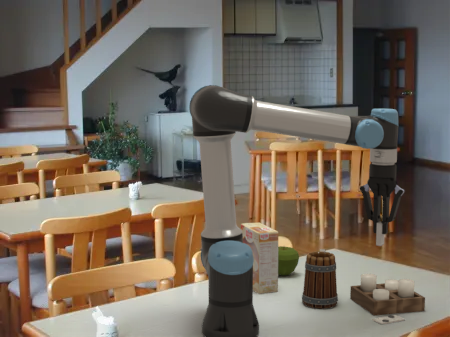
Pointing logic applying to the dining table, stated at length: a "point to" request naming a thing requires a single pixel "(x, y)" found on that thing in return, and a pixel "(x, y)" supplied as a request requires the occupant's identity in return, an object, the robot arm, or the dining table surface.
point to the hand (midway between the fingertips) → (380, 244)
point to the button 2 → (380, 294)
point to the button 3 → (391, 284)
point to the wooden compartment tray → (387, 301)
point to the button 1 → (368, 282)
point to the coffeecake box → (263, 256)
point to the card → (388, 319)
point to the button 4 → (405, 288)
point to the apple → (287, 260)
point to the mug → (320, 280)
